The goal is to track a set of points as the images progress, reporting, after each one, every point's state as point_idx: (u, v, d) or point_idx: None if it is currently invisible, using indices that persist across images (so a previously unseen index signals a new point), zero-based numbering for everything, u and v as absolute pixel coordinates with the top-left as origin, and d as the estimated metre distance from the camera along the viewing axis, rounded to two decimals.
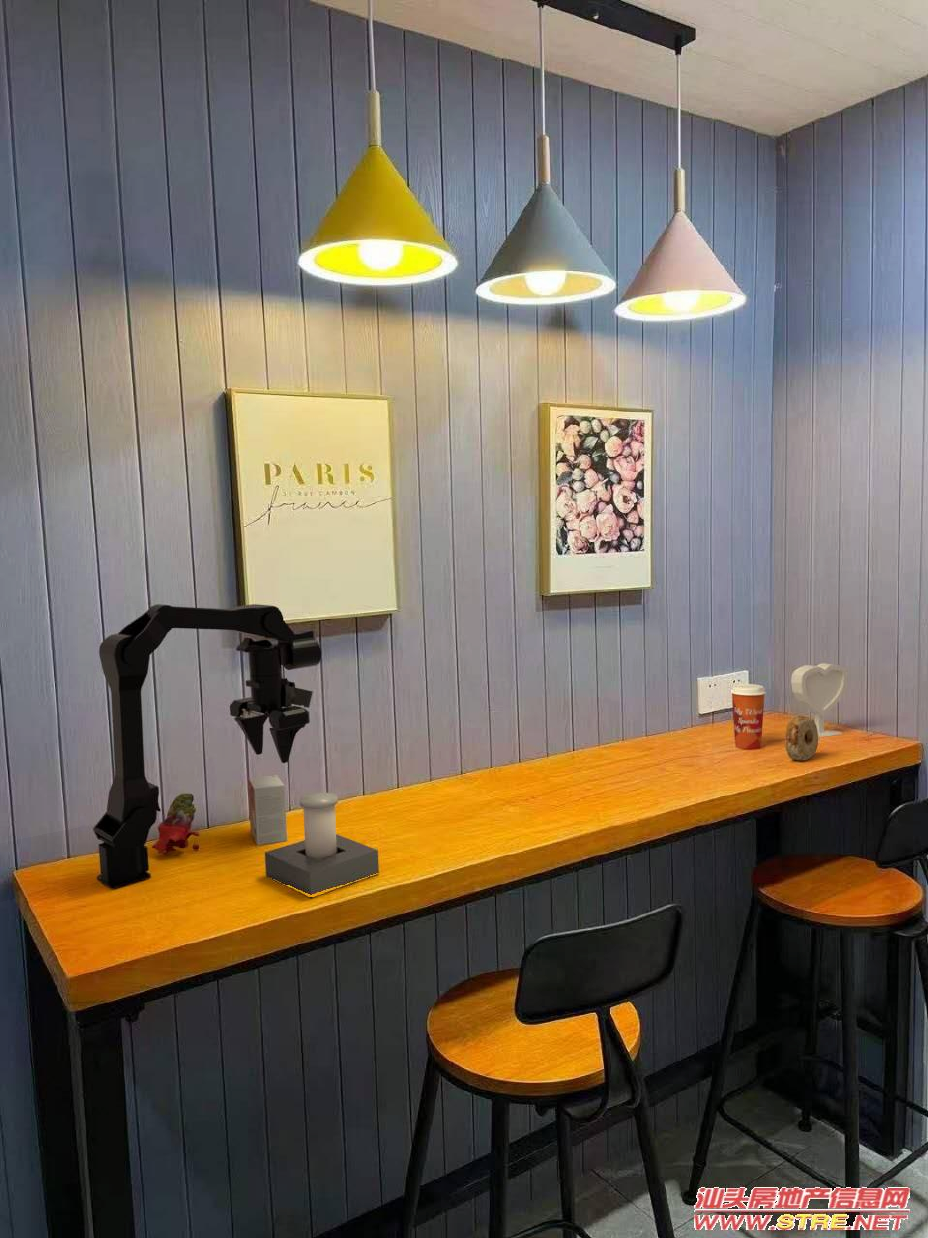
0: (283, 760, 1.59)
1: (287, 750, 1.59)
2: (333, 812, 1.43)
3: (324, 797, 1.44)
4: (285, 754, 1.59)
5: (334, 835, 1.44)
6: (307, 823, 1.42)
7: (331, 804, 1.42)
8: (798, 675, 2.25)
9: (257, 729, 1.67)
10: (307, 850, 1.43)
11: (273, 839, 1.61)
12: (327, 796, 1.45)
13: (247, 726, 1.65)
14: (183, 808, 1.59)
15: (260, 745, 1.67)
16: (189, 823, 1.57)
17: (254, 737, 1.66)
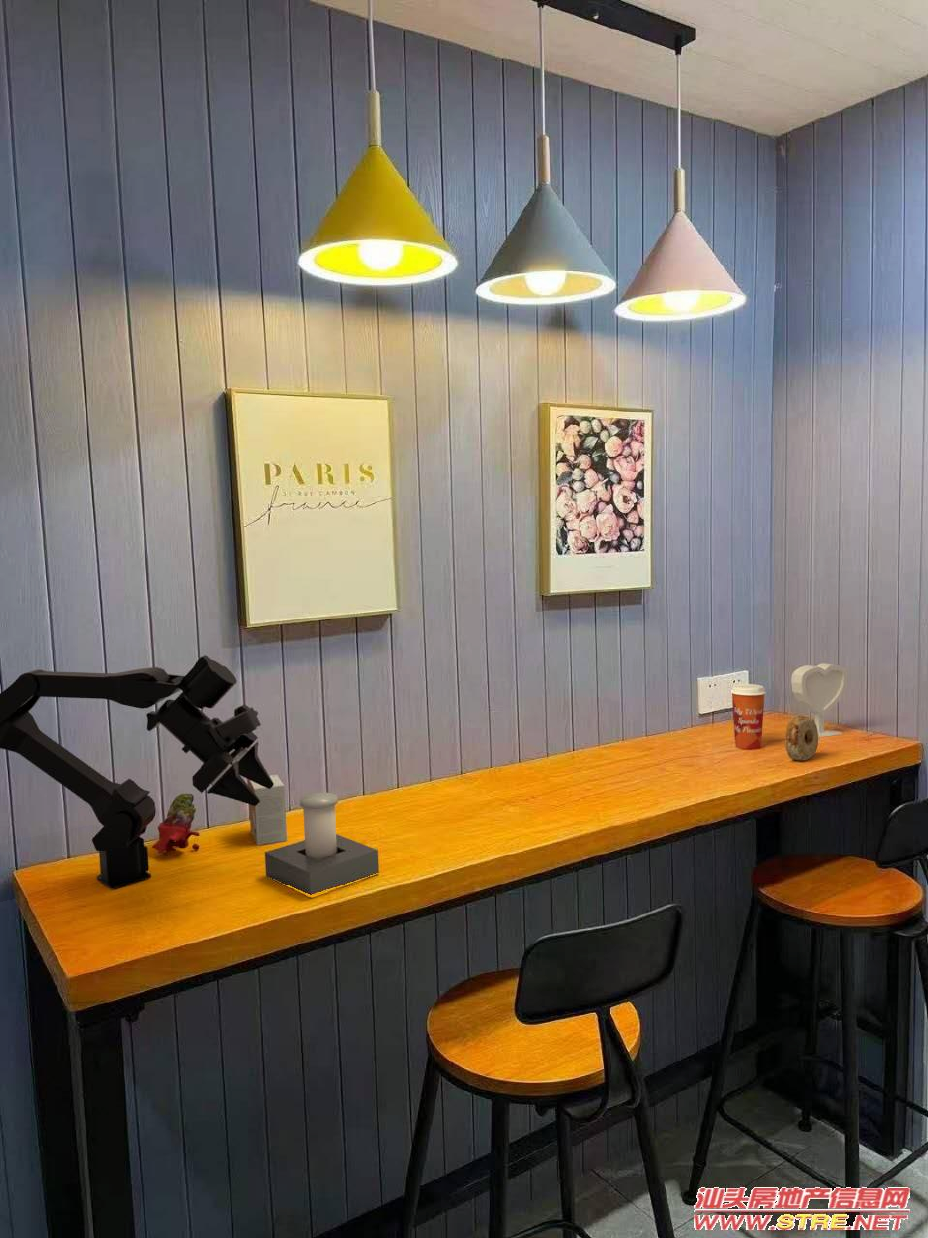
0: (252, 803, 1.39)
1: (246, 794, 1.39)
2: (333, 812, 1.43)
3: (324, 797, 1.44)
4: (248, 798, 1.39)
5: (334, 835, 1.44)
6: (307, 823, 1.42)
7: (331, 804, 1.42)
8: (799, 675, 2.25)
9: (253, 766, 1.49)
10: (307, 850, 1.43)
11: (273, 839, 1.61)
12: (327, 796, 1.45)
13: (240, 771, 1.49)
14: (183, 808, 1.59)
15: (265, 779, 1.48)
16: (189, 823, 1.57)
17: (254, 776, 1.49)
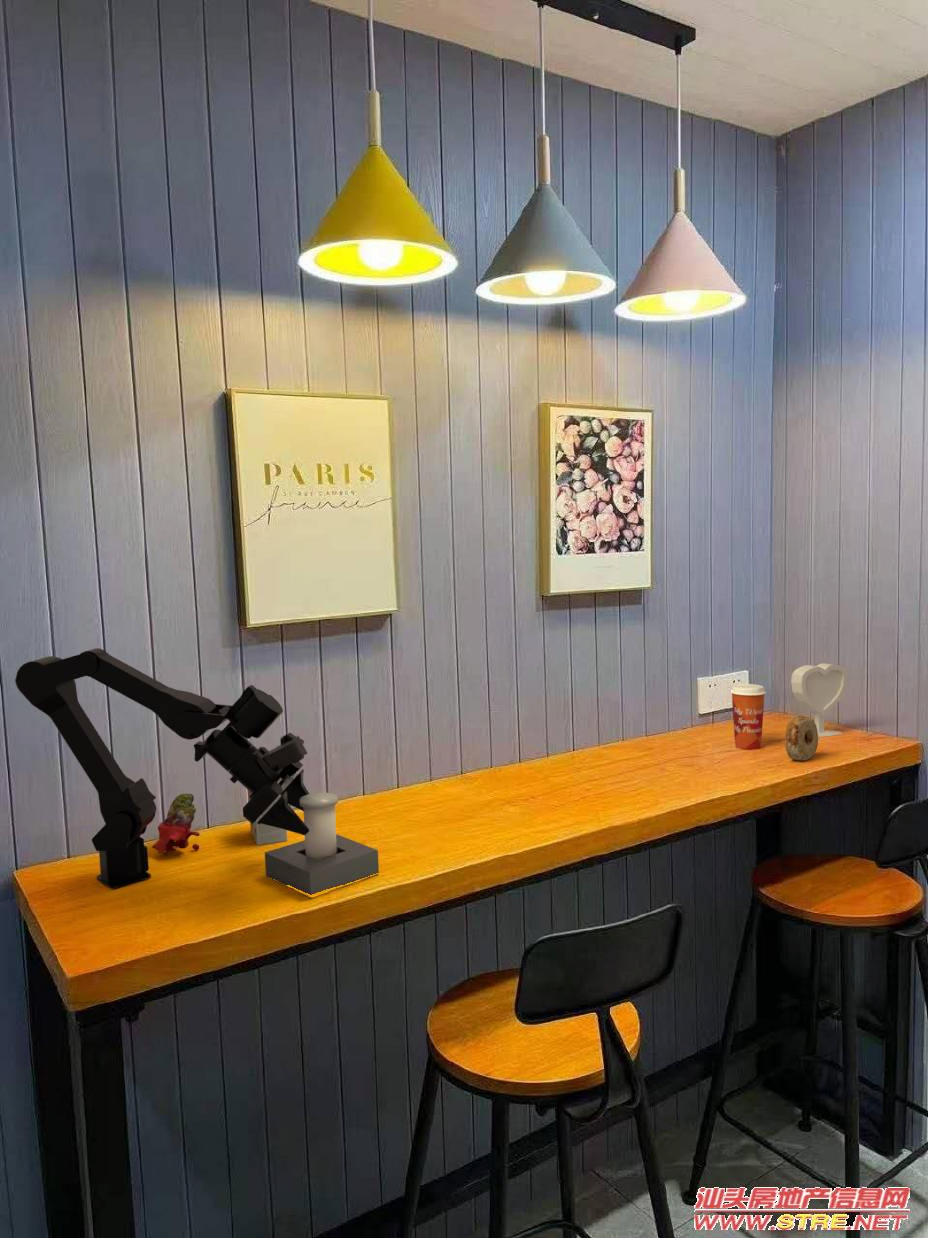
0: (302, 833, 1.39)
1: (295, 824, 1.39)
2: (333, 812, 1.43)
3: (324, 797, 1.44)
4: (297, 828, 1.39)
5: (334, 835, 1.44)
6: (307, 823, 1.42)
7: (331, 804, 1.42)
8: (799, 675, 2.25)
9: (299, 794, 1.49)
10: (307, 850, 1.43)
11: (273, 839, 1.61)
12: (327, 796, 1.45)
13: (287, 799, 1.49)
14: (183, 808, 1.59)
15: None
16: (189, 823, 1.57)
17: None
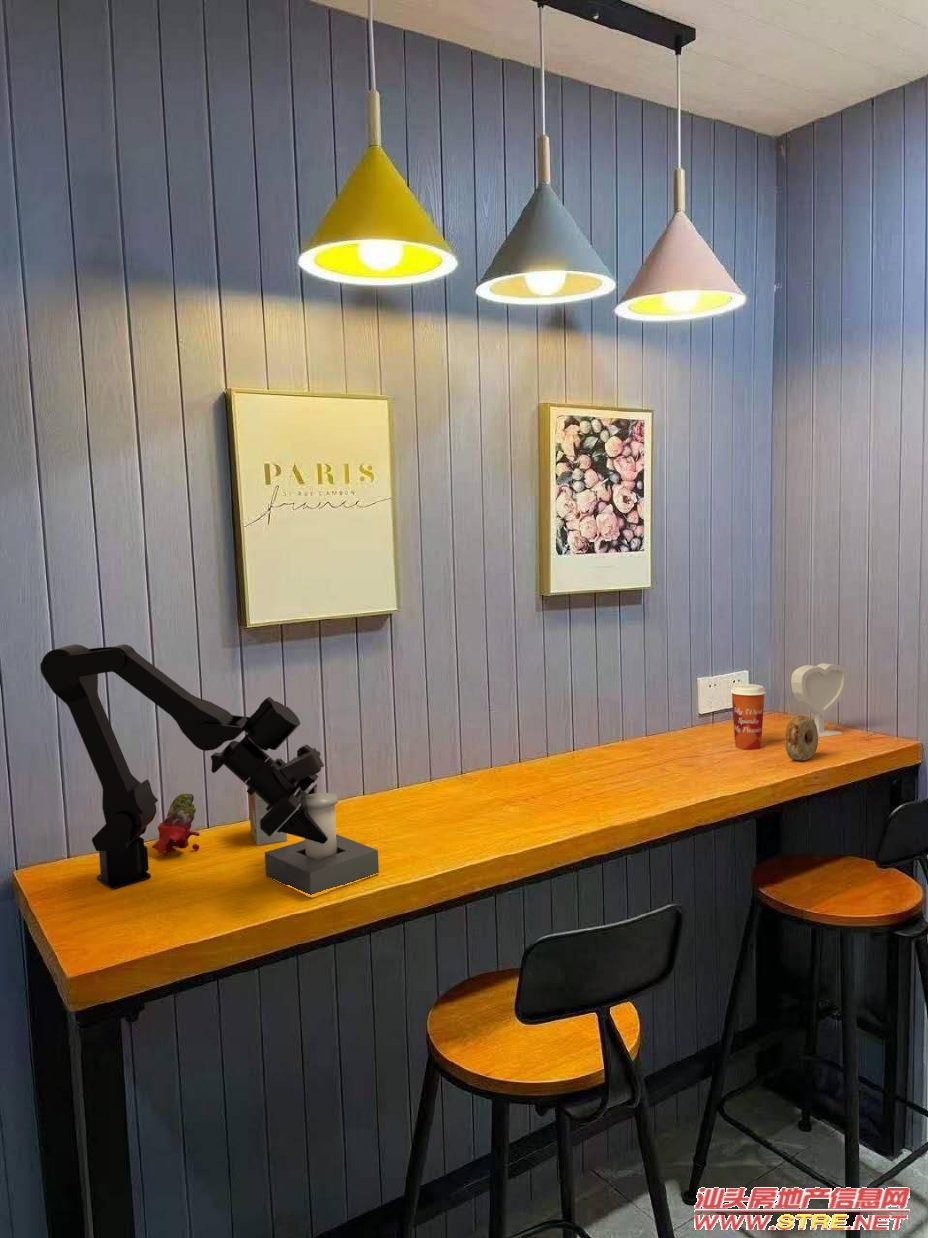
0: (321, 841, 1.41)
1: (314, 832, 1.41)
2: (333, 812, 1.43)
3: (324, 797, 1.44)
4: (316, 836, 1.41)
5: (334, 835, 1.44)
6: None
7: (331, 804, 1.42)
8: (798, 675, 2.25)
9: None
10: (307, 850, 1.43)
11: (273, 839, 1.61)
12: (327, 796, 1.45)
13: None
14: (183, 808, 1.59)
15: None
16: (189, 823, 1.57)
17: None
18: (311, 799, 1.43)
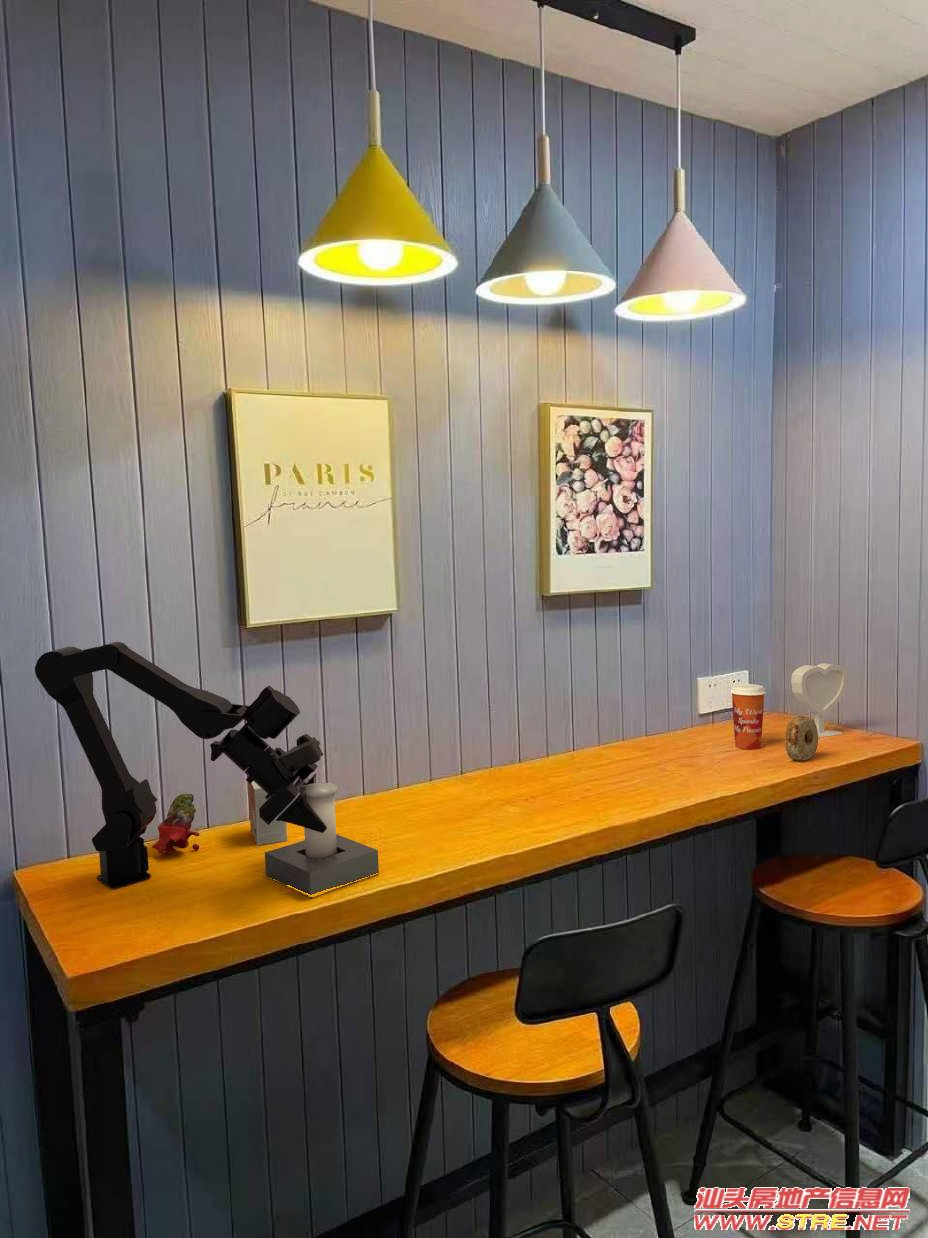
0: (320, 830, 1.41)
1: (313, 821, 1.41)
2: (333, 802, 1.43)
3: (324, 787, 1.44)
4: (315, 825, 1.41)
5: (334, 825, 1.43)
6: None
7: (331, 794, 1.42)
8: (799, 675, 2.25)
9: None
10: (307, 840, 1.43)
11: (273, 839, 1.61)
12: (327, 786, 1.44)
13: None
14: (183, 808, 1.59)
15: None
16: (189, 823, 1.57)
17: None
18: (311, 789, 1.43)
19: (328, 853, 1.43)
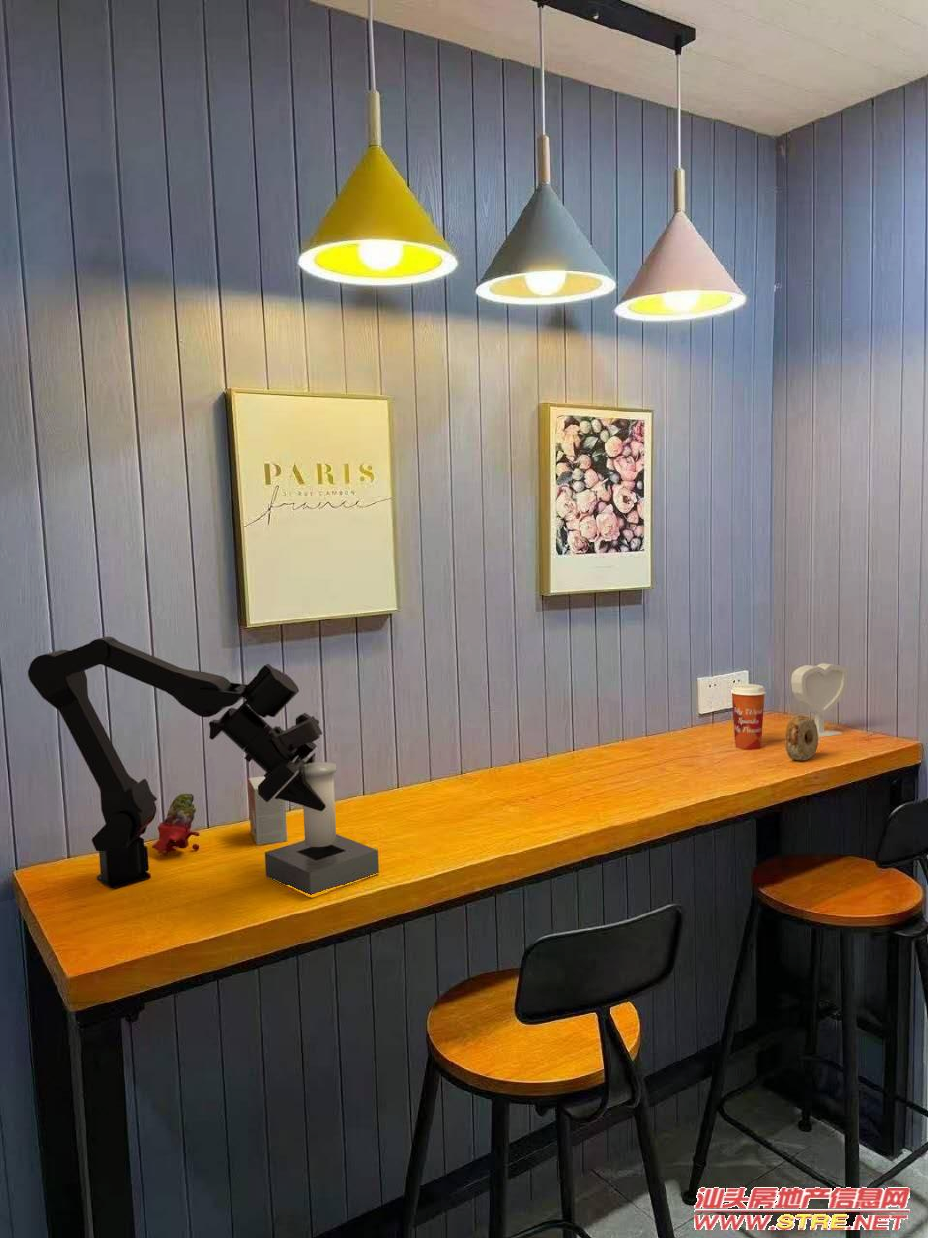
0: (318, 809, 1.41)
1: (312, 799, 1.40)
2: (332, 781, 1.43)
3: (323, 766, 1.44)
4: (314, 804, 1.40)
5: (333, 804, 1.43)
6: None
7: (330, 772, 1.41)
8: (798, 675, 2.25)
9: None
10: (306, 819, 1.42)
11: (273, 839, 1.61)
12: (326, 765, 1.44)
13: None
14: (183, 808, 1.59)
15: None
16: (189, 823, 1.57)
17: None
18: (310, 768, 1.43)
19: (327, 832, 1.42)
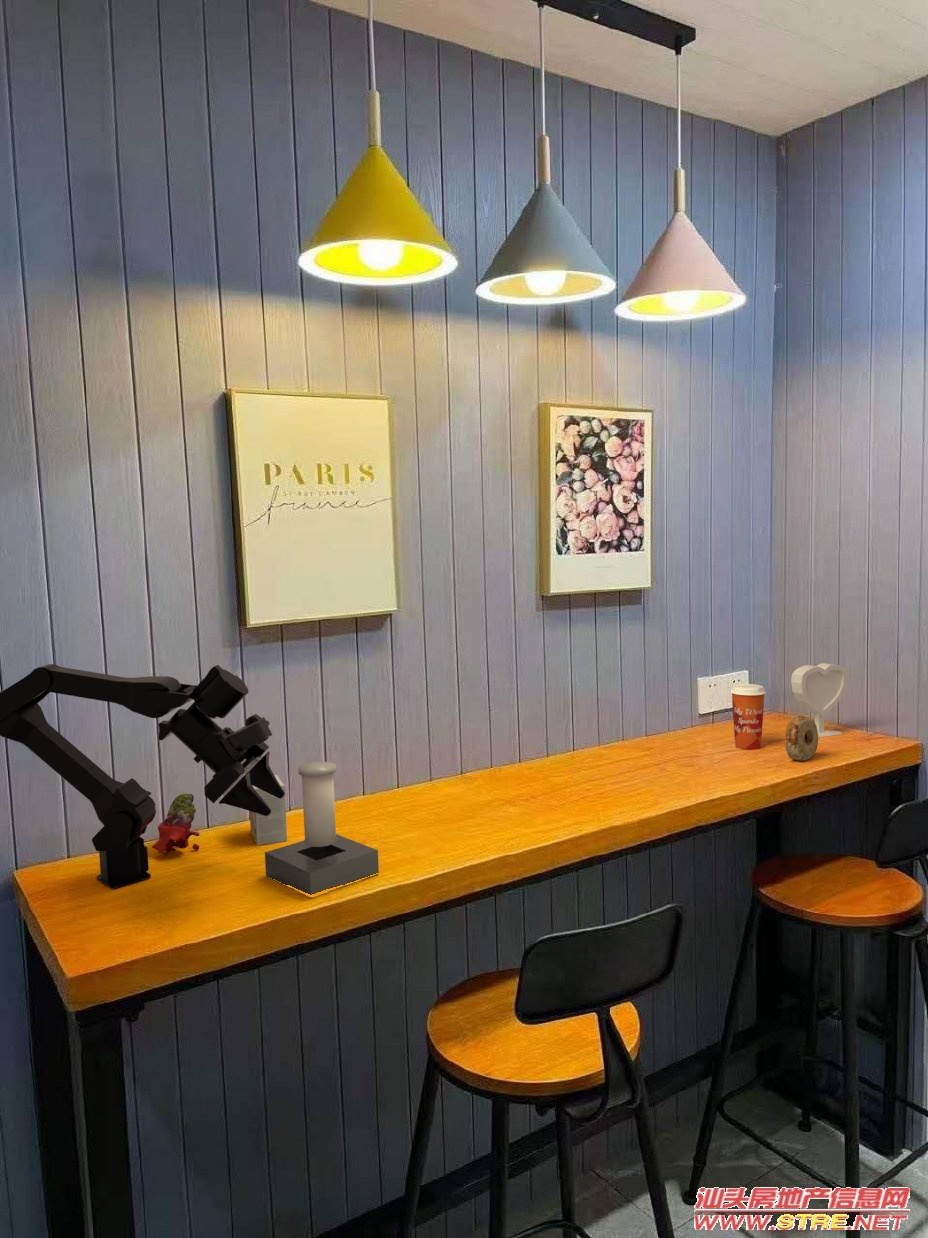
0: (264, 814, 1.39)
1: (257, 804, 1.39)
2: (332, 781, 1.43)
3: (323, 766, 1.44)
4: (259, 808, 1.39)
5: (333, 804, 1.43)
6: (305, 792, 1.42)
7: (330, 772, 1.41)
8: (798, 675, 2.25)
9: (264, 776, 1.49)
10: (306, 818, 1.42)
11: (273, 839, 1.61)
12: (326, 765, 1.44)
13: (251, 780, 1.49)
14: (183, 808, 1.59)
15: (276, 788, 1.48)
16: (189, 823, 1.57)
17: (265, 785, 1.49)
18: (309, 767, 1.43)
19: (327, 832, 1.42)
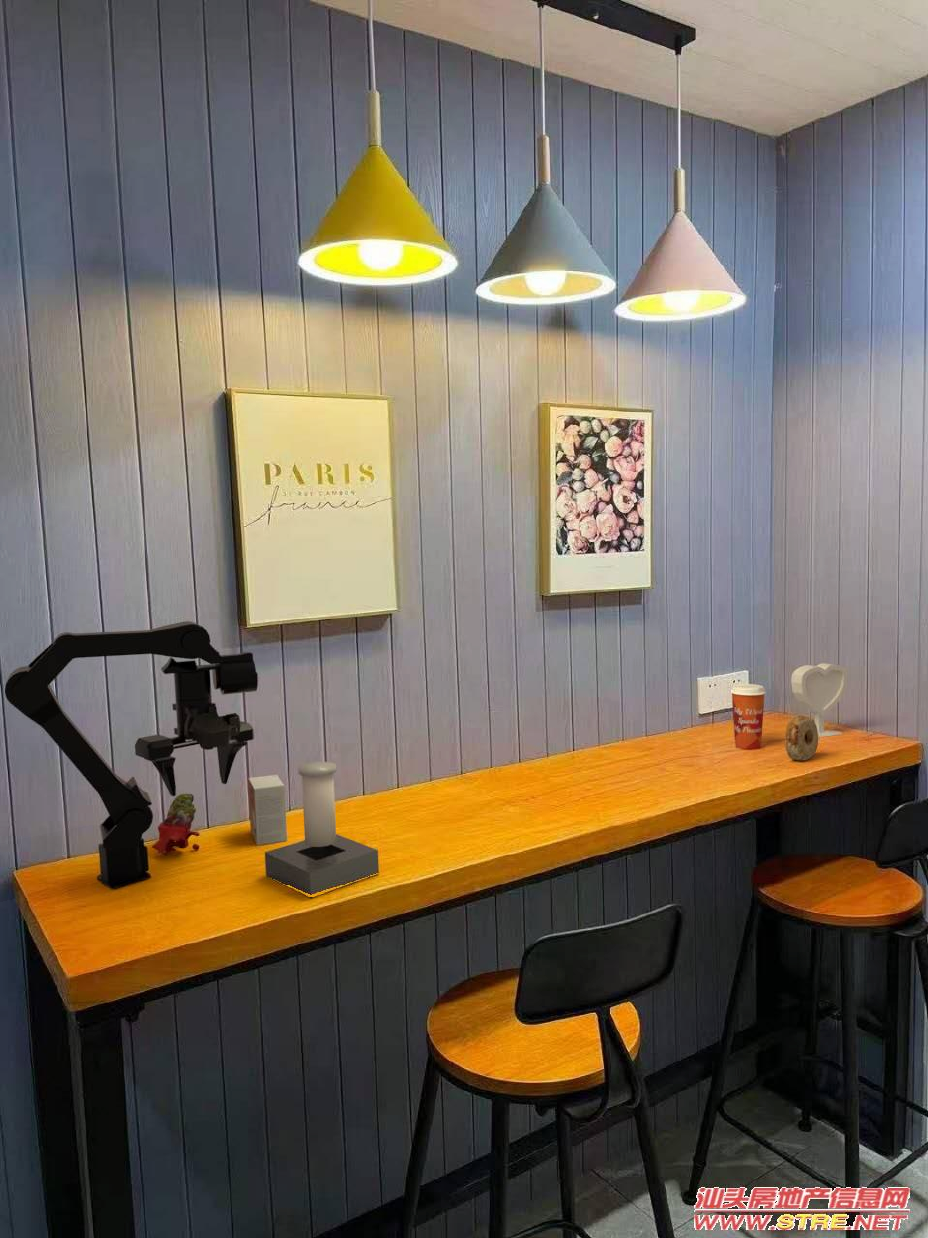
0: (169, 792, 1.47)
1: (167, 783, 1.46)
2: (332, 781, 1.43)
3: (323, 766, 1.44)
4: (168, 786, 1.46)
5: (333, 804, 1.43)
6: (305, 792, 1.42)
7: (330, 772, 1.41)
8: (799, 675, 2.25)
9: (225, 757, 1.53)
10: (306, 818, 1.42)
11: (273, 839, 1.61)
12: (326, 765, 1.44)
13: (219, 749, 1.54)
14: (183, 808, 1.59)
15: (223, 774, 1.53)
16: (189, 823, 1.57)
17: (221, 764, 1.53)
18: (309, 767, 1.43)
19: (327, 832, 1.42)
